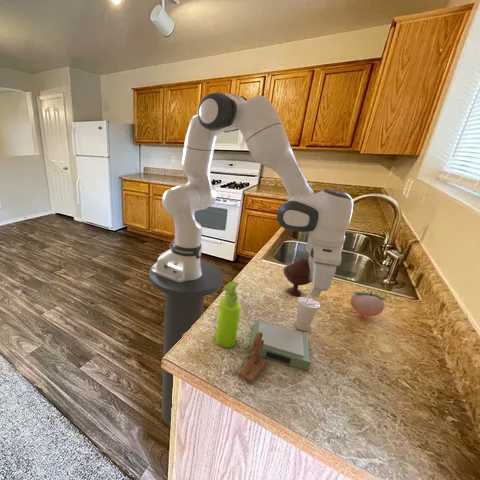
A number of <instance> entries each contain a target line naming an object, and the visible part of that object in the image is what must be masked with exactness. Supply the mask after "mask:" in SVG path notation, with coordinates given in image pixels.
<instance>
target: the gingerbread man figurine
mask: <svg viewBox="0 0 480 480" xmlns="http://www.w3.org/2000/svg"><path fill="white" fill-rule="evenodd" d="M259 335H260V336H259ZM262 335H263V334H262V333H261V332H258V333H257V335H256V336H255V339H254V345H253V344H251V343H250V345H251V346H249V348H248V354H249V355H250V358H249V359H248V360H247V361H246V362H245V364H244V365H243V366H242V367H241V368H240V369H239V370H238V371H237V376H239V377H240V378H242V379H243V380H244V381H246V382H248V383H249V384H253V383H254V381H255V380H256V379H257V378H258V376H259V375H260V373H261V372H262V371H263V370H264V369H265V367H266V365H267V364H268V363H267V361H266V360H265V359H263V358H262V357H261V356H259V349H262V347H263V345H264V340H262ZM260 342H261V343H260ZM259 344H260V345H259ZM253 349H255V350H256V351H253Z"/></svg>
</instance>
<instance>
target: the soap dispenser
mask: <svg viewBox="0 0 480 480" xmlns="http://www.w3.org/2000/svg"><path fill="white" fill-rule="evenodd" d="M237 286H239V282H236V281H235V280H231V281H229V282H228V283H226V284H225V285H224V287H223V288H222V290H223V291H225V295H224V298H222V299H220V301H219V305H218V314H217V322H216V331H215V342H216V344H218V345H219V346H221V347H224V348H232V347H234V346H235V344H236V340H237V334H238V327H239V321H240V315H241V307H242V305H241V303H240V302H239V301H238V298H239V297H238V296H239V294H238V293H237V291H236V289H237V288H236V287H237Z"/></svg>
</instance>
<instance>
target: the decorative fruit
mask: <svg viewBox="0 0 480 480" xmlns="http://www.w3.org/2000/svg"><path fill="white" fill-rule="evenodd" d="M384 301H387V299H386V298H385V297H384V296H383V295H381V294H379V293H374V292H373V290H371V291H370V292H367V291H364V290H357V291H355V292H353V294H352V296H351V298H350V305H351V307H352V308H353V310H354V311H355V312H356V313H357V314H359V315H361V316H363V317H364V316H365V317H367V316H368V317H375V316H379V315H380V314H382V312H383V311H384V309H385V302H384Z"/></svg>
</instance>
